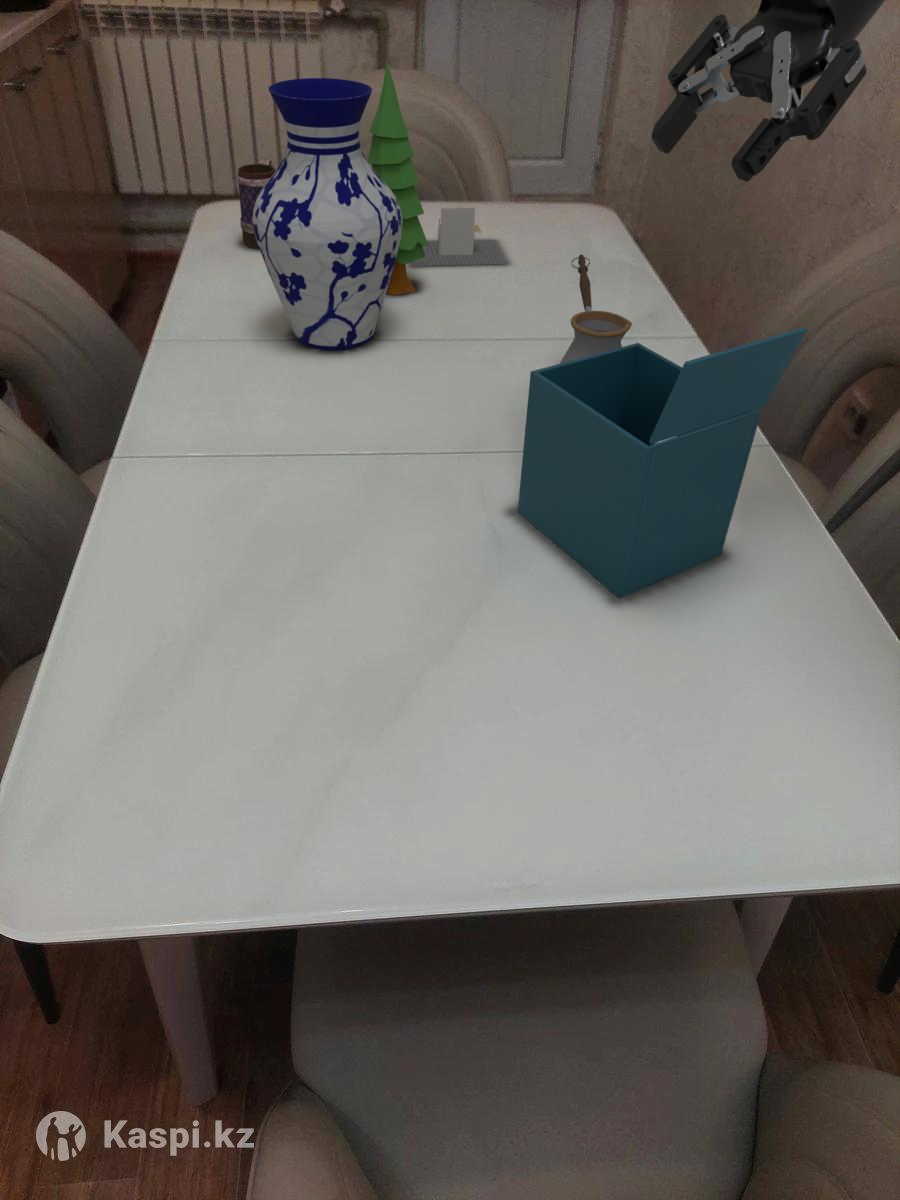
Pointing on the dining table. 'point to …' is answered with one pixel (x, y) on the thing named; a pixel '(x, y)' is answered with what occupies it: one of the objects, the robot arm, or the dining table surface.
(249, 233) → the mug
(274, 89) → the vase
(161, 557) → the dining table surface
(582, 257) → the coffee pot
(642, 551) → the open storage box
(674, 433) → the flap
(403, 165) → the decorative tree
